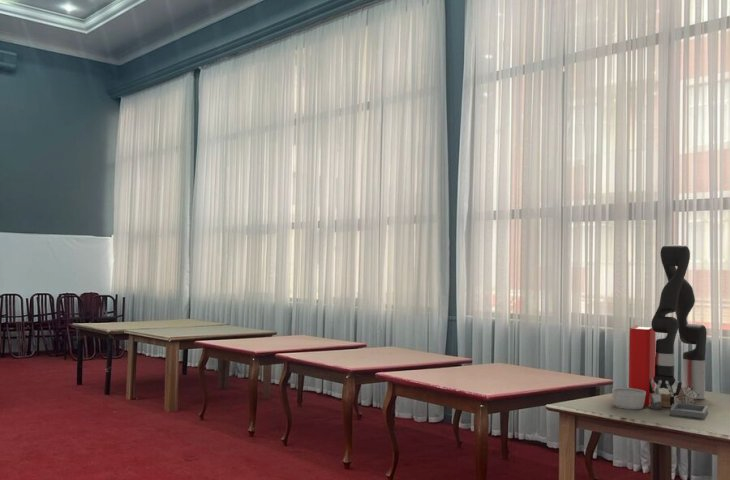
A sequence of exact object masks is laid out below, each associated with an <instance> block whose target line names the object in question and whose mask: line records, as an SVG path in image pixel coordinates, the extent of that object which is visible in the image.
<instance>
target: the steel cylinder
mask: <svg viewBox="0 0 730 480" xmlns="http://www.w3.org/2000/svg"><path fill="white" fill-rule="evenodd" d="M650 409H652V410H662V406H661V394H659V392H658V393H651V403H650Z"/></svg>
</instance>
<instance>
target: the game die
mask: <svg viewBox="0 0 730 480" xmlns="http://www.w3.org/2000/svg"><path fill="white" fill-rule="evenodd" d="M692 389H693V388H692ZM692 389H691V388H690V386H689V388H683V387H681V389H680V392H679V395H678V396H674V399H678V400H679V401H681V403H683V404H692V405H696V404H695V403H696V401H697V399H696V398H697V396H698V395H700V394H696V393H695V392H694V391H693V390H692Z"/></svg>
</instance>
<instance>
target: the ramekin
mask: <svg viewBox="0 0 730 480" xmlns="http://www.w3.org/2000/svg"><path fill="white" fill-rule="evenodd" d="M611 392H612V398H613V399H612V401H613V404H614V406H615V408H620V409H623V408H624V409H625V410H642V409H644V407H645V406H644V403H645V395H646V391H643V390H639V389H633V388H629V387H614V388H612V389H611Z"/></svg>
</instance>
